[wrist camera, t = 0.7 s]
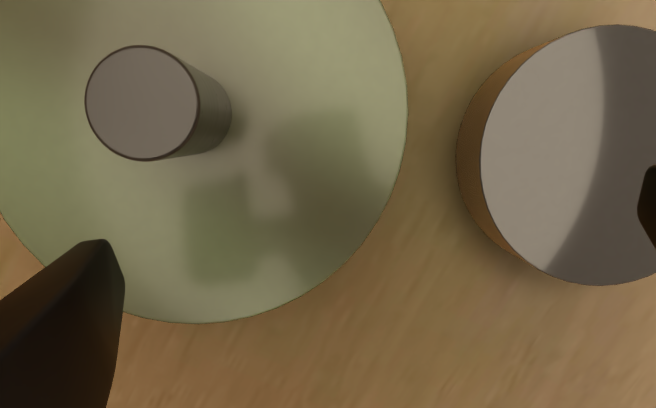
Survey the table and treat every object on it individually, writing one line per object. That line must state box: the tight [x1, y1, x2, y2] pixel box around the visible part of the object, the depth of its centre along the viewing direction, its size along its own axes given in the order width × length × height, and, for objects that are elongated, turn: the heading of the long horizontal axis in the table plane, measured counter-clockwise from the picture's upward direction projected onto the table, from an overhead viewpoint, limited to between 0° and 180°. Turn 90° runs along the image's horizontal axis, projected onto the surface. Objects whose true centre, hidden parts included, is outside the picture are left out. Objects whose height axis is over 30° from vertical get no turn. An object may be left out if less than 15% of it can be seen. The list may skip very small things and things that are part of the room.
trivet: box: [456, 25, 656, 286], centre depth 23 cm, size 10×10×4 cm
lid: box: [0, 0, 408, 324], centre depth 15 cm, size 14×14×6 cm
